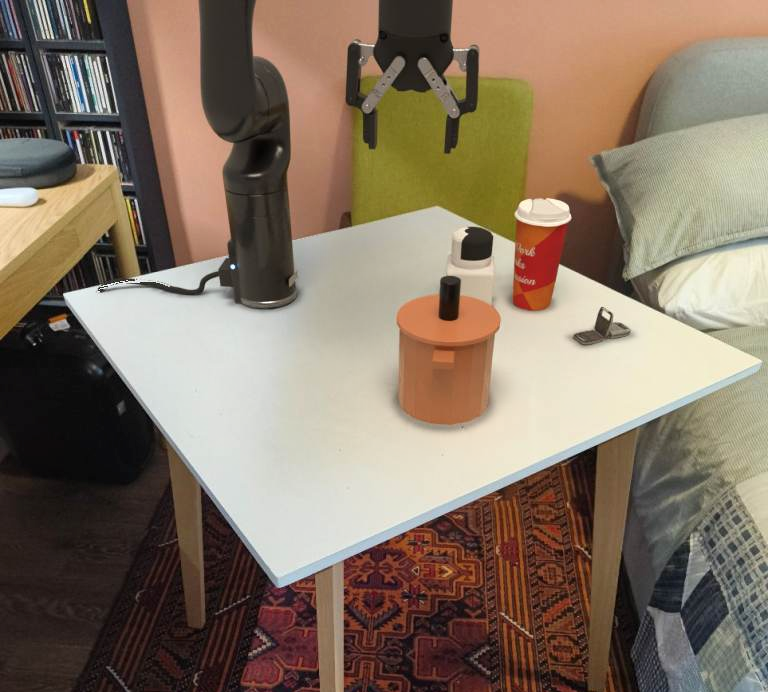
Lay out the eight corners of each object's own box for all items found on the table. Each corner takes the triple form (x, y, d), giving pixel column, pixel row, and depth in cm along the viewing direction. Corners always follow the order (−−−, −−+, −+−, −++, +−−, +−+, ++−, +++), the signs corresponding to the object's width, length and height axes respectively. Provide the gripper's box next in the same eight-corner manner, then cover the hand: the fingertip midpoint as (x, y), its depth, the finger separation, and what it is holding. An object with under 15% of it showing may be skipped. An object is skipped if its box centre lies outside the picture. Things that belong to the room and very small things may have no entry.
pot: (391, 437, 94) (392, 352, 86) (405, 367, 106) (407, 288, 99) (485, 443, 93) (494, 359, 85) (488, 372, 105) (496, 293, 98)
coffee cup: (500, 292, 125) (510, 197, 115) (550, 290, 125) (564, 195, 115) (511, 315, 118) (522, 217, 108) (564, 313, 119) (580, 215, 109)
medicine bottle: (490, 298, 123) (497, 223, 115) (490, 319, 117) (498, 241, 110) (445, 296, 123) (449, 221, 116) (443, 316, 118) (447, 239, 110)
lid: (390, 347, 88) (391, 300, 84) (402, 300, 98) (402, 255, 94) (499, 354, 87) (504, 306, 83) (500, 305, 96) (504, 260, 93)
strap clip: (619, 326, 116) (624, 299, 113) (631, 335, 113) (637, 308, 111) (571, 337, 113) (575, 310, 110) (583, 346, 111) (588, 319, 108)
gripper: (489, -26, 79) (474, 144, 89) (352, -31, 80) (353, 136, 90) (487, -16, 73) (471, 164, 84) (339, -22, 74) (342, 156, 85)
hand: (409, 149), depth 87 cm, fingers open, 8 cm apart
